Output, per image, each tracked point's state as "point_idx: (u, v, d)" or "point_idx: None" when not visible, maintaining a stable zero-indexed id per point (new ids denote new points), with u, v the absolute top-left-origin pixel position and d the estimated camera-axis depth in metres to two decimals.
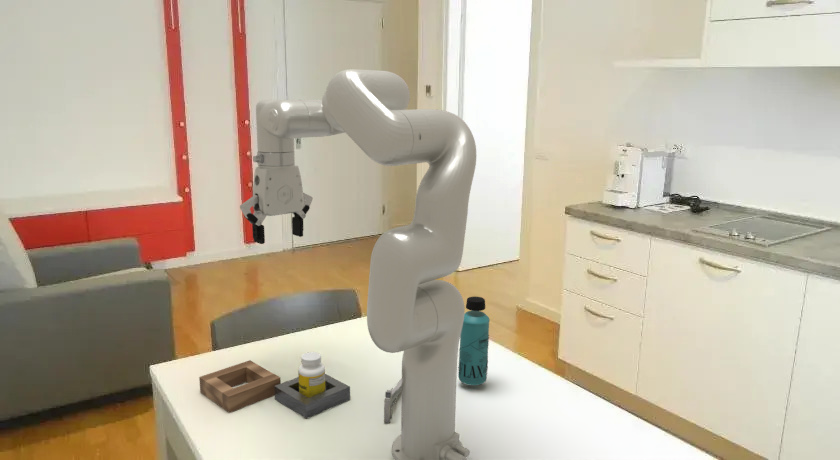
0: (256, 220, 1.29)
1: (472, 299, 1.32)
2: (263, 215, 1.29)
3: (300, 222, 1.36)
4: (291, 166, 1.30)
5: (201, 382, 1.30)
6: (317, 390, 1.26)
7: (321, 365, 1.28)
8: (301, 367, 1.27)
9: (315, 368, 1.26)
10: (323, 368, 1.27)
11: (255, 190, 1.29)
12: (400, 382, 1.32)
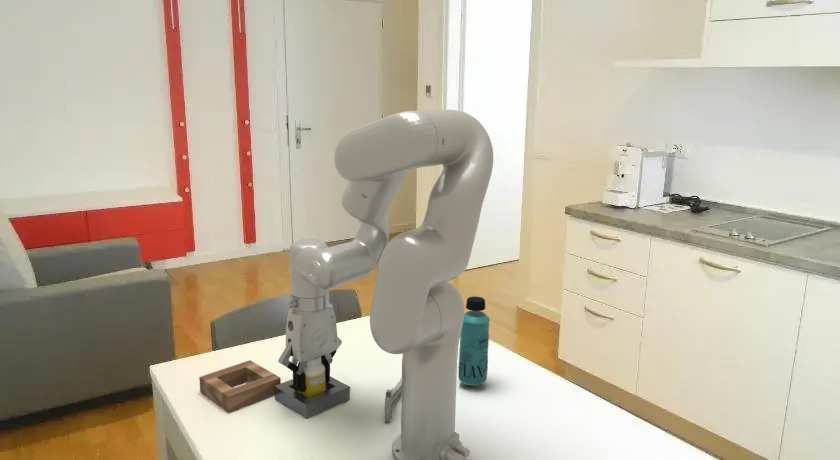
0: (296, 370, 1.24)
1: (472, 299, 1.32)
2: (302, 363, 1.24)
3: (327, 368, 1.29)
4: (326, 309, 1.23)
5: (201, 382, 1.30)
6: (317, 390, 1.26)
7: (321, 365, 1.28)
8: None
9: (315, 368, 1.26)
10: (323, 368, 1.27)
11: (288, 335, 1.23)
12: (400, 382, 1.33)
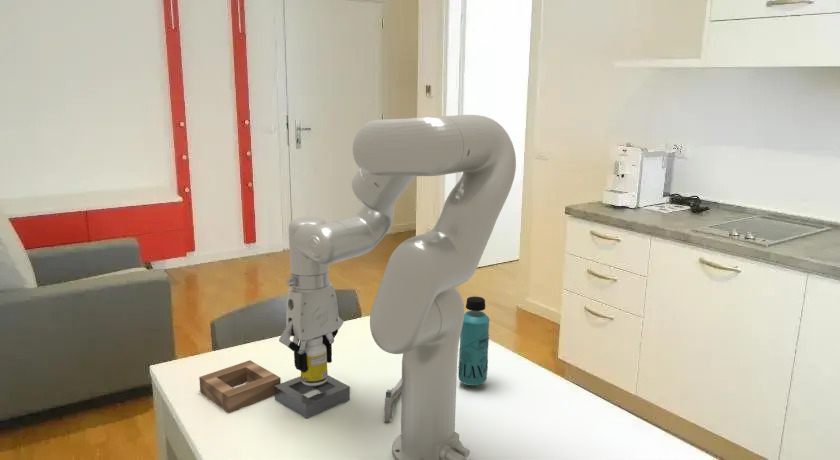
0: (298, 350, 1.22)
1: (472, 299, 1.32)
2: (303, 342, 1.23)
3: (329, 348, 1.27)
4: (326, 287, 1.22)
5: (201, 382, 1.30)
6: (319, 370, 1.25)
7: (322, 345, 1.26)
8: None
9: (316, 348, 1.25)
10: (325, 348, 1.26)
11: (289, 314, 1.21)
12: (400, 382, 1.33)
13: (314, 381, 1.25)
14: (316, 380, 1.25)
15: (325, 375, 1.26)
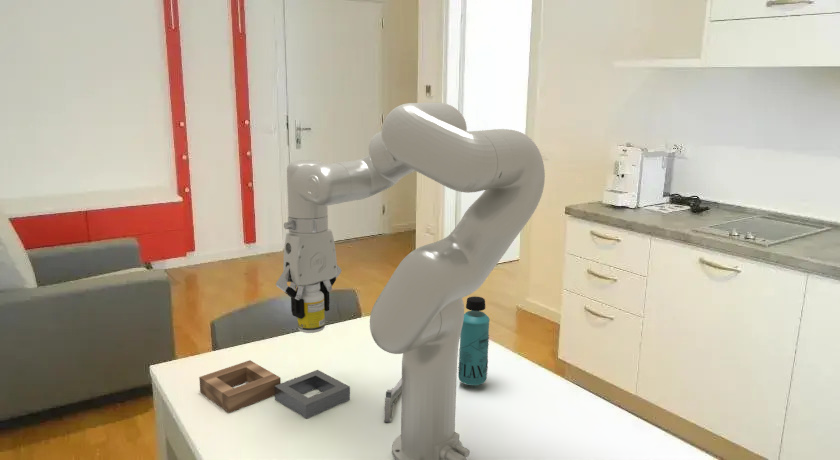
0: (295, 295, 1.20)
1: (472, 299, 1.32)
2: (300, 287, 1.20)
3: (327, 296, 1.25)
4: (325, 232, 1.20)
5: (201, 382, 1.30)
6: (316, 317, 1.23)
7: (320, 292, 1.24)
8: None
9: (314, 294, 1.22)
10: (322, 295, 1.24)
11: (286, 259, 1.19)
12: (400, 382, 1.33)
13: (311, 328, 1.23)
14: (313, 327, 1.23)
15: (322, 323, 1.24)
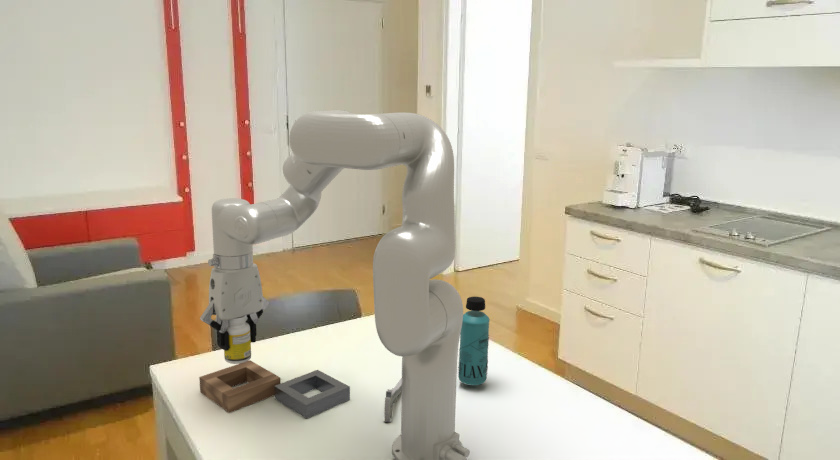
0: (219, 328, 1.25)
1: (472, 299, 1.32)
2: (225, 321, 1.25)
3: (253, 328, 1.30)
4: (249, 268, 1.24)
5: (201, 382, 1.30)
6: (241, 348, 1.27)
7: (246, 324, 1.29)
8: None
9: (239, 327, 1.27)
10: (248, 327, 1.28)
11: (211, 293, 1.23)
12: (400, 382, 1.33)
13: (236, 359, 1.27)
14: (238, 359, 1.27)
15: (248, 354, 1.29)
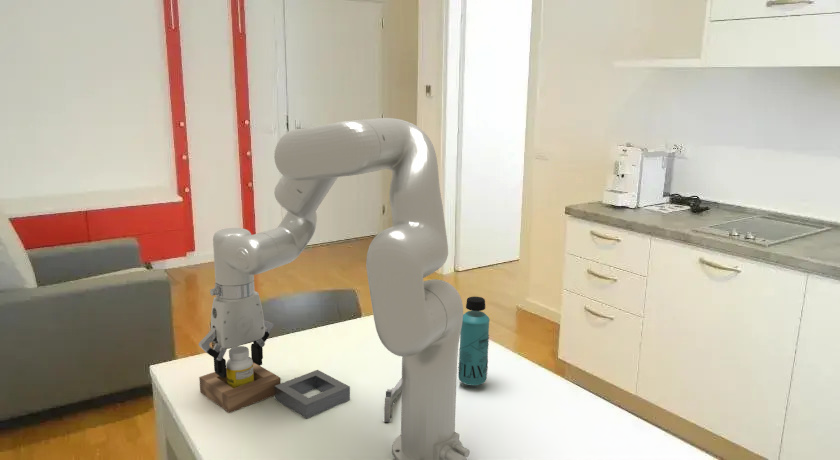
0: (217, 355, 1.25)
1: (472, 299, 1.32)
2: (223, 349, 1.25)
3: (259, 351, 1.31)
4: (250, 297, 1.25)
5: (201, 382, 1.30)
6: (244, 383, 1.29)
7: (249, 359, 1.30)
8: (229, 361, 1.29)
9: (242, 362, 1.28)
10: (251, 362, 1.30)
11: (213, 322, 1.25)
12: (400, 382, 1.33)
13: None
14: None
15: None
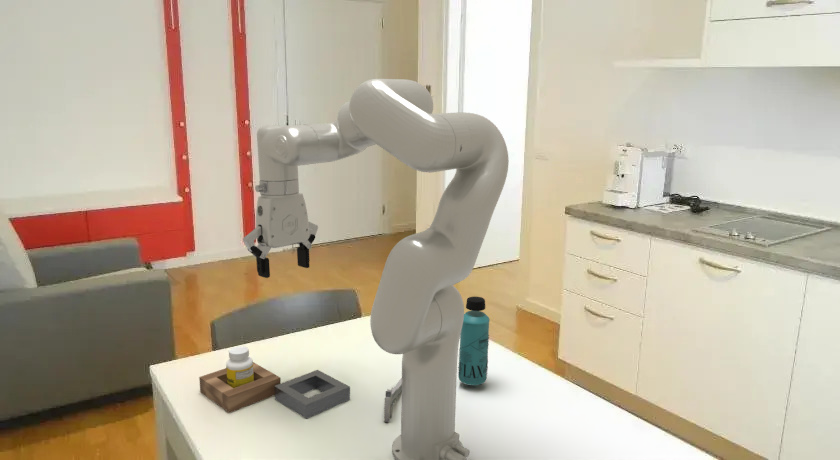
0: (260, 253, 1.21)
1: (472, 299, 1.32)
2: (267, 247, 1.22)
3: (306, 253, 1.29)
4: (296, 194, 1.23)
5: (201, 382, 1.30)
6: (244, 383, 1.29)
7: (249, 359, 1.30)
8: (229, 361, 1.29)
9: (242, 362, 1.28)
10: (250, 362, 1.30)
11: (258, 221, 1.22)
12: (400, 381, 1.33)
13: None
14: None
15: None
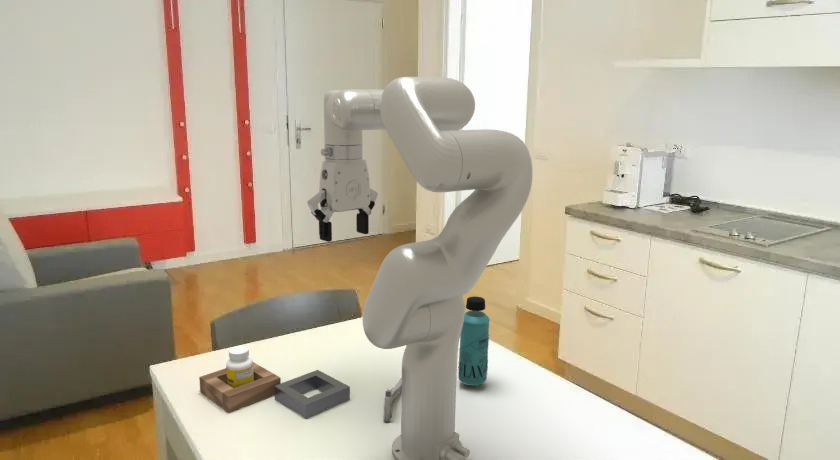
0: (324, 216, 1.22)
1: (472, 299, 1.32)
2: (331, 211, 1.23)
3: (366, 219, 1.30)
4: (360, 160, 1.23)
5: (201, 382, 1.30)
6: (244, 383, 1.29)
7: (249, 359, 1.30)
8: (229, 361, 1.29)
9: (242, 362, 1.28)
10: (250, 362, 1.30)
11: (322, 185, 1.23)
12: (400, 381, 1.33)
13: None
14: None
15: None
